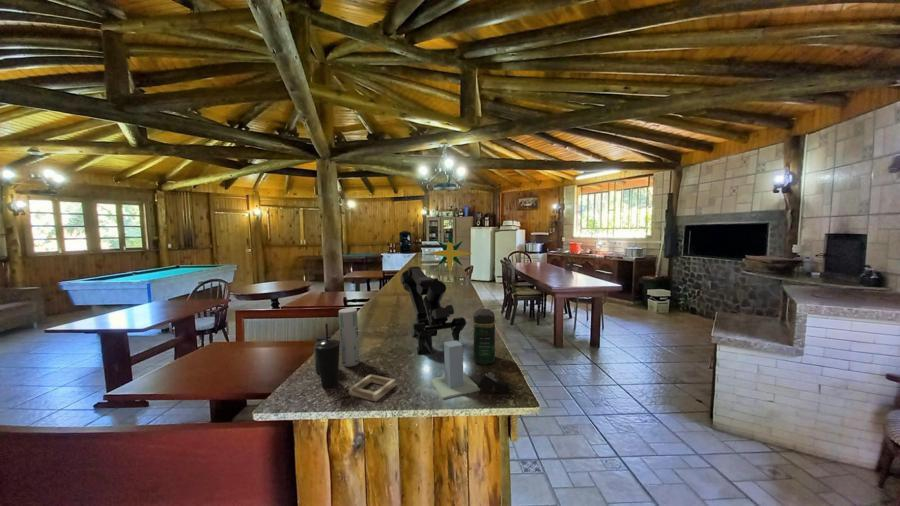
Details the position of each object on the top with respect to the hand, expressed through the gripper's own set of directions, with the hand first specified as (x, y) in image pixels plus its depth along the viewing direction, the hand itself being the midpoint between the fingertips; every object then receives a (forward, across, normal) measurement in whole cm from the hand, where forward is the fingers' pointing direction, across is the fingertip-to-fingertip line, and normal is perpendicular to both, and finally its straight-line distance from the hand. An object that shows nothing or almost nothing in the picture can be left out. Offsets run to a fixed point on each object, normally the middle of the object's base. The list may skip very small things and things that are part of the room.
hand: (445, 350), depth 109 cm
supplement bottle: (-9, -37, +22) cm, 44 cm away
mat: (+12, 0, 0) cm, 12 cm away
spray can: (-10, -29, +23) cm, 38 cm away
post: (+11, 0, 0) cm, 11 cm away
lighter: (+18, +9, -5) cm, 21 cm away
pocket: (+6, -24, +6) cm, 25 cm away
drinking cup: (0, -36, +13) cm, 38 cm away
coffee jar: (+2, +18, +10) cm, 20 cm away
